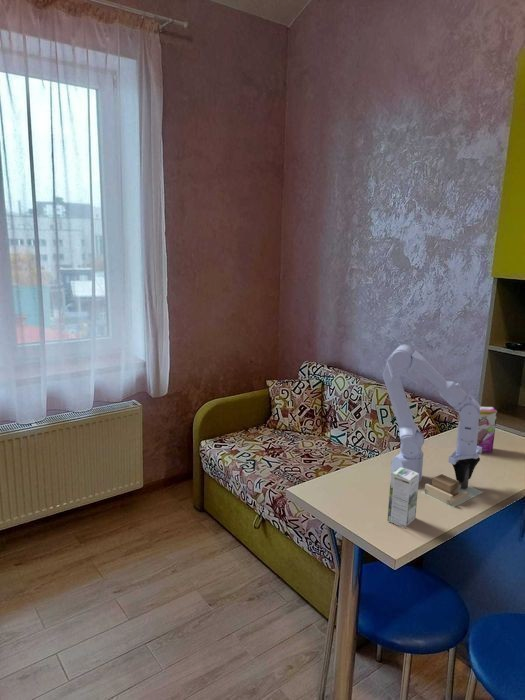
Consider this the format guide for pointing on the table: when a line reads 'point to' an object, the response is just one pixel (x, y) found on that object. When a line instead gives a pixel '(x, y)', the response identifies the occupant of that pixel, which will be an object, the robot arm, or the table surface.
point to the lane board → (448, 498)
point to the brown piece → (450, 483)
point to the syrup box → (403, 497)
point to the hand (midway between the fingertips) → (463, 479)
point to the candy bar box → (486, 428)
